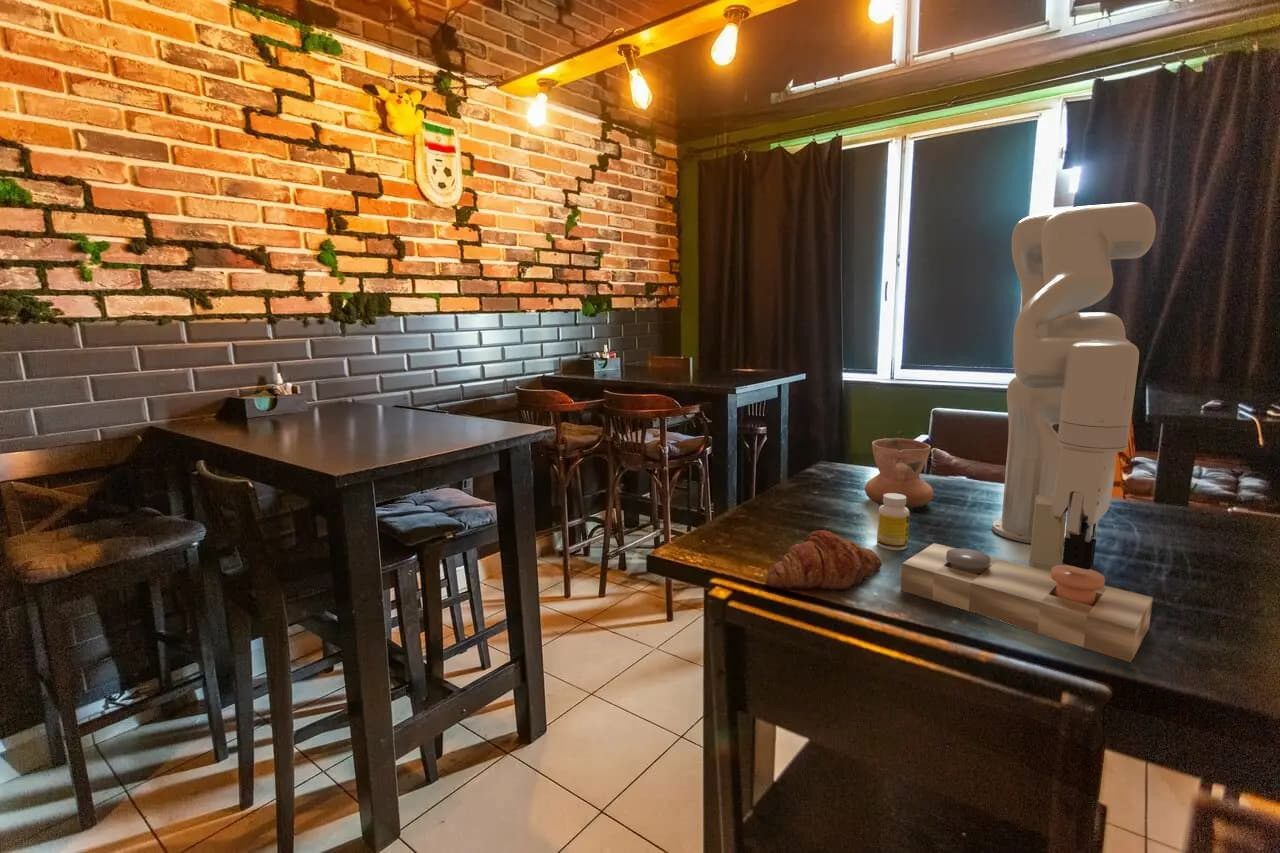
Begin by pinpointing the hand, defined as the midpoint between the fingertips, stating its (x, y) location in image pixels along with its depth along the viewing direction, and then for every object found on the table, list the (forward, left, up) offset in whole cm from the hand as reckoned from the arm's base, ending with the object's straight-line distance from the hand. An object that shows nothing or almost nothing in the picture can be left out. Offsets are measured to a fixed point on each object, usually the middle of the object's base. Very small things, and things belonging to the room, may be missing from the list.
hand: (1077, 564), depth 84 cm
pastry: (+10, -32, -9) cm, 35 cm away
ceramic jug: (-37, -42, -9) cm, 56 cm away
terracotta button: (0, 0, -7) cm, 7 cm away
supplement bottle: (-11, -31, -9) cm, 34 cm away
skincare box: (-18, -8, -9) cm, 21 cm away
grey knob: (0, -14, -8) cm, 16 cm away
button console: (0, -7, -9) cm, 11 cm away
